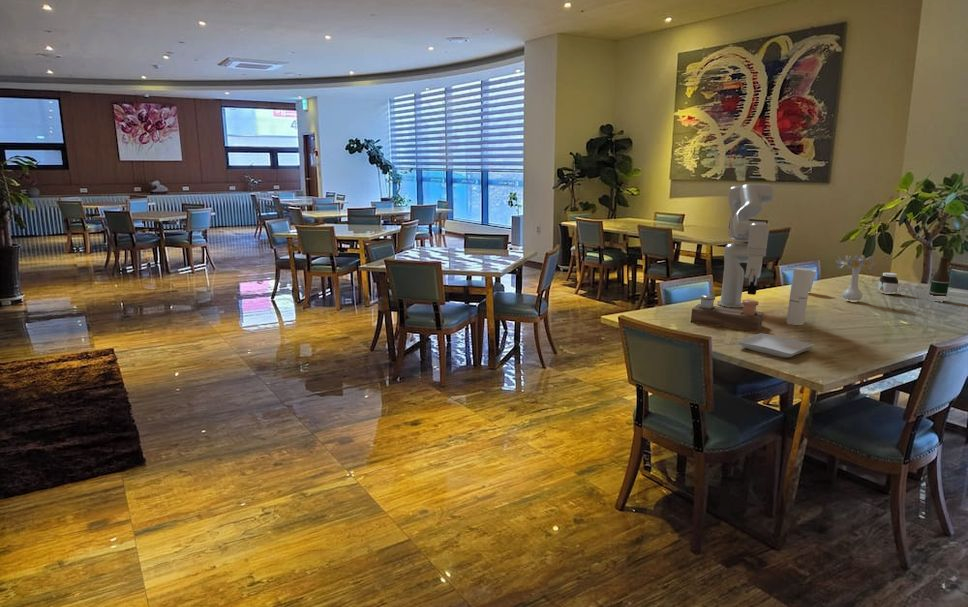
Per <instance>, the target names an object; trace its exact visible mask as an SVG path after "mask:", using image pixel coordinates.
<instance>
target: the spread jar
mask: <svg viewBox="0 0 968 607" xmlns="http://www.w3.org/2000/svg"><path fill="white" fill-rule="evenodd" d="M898 289H899V290H898ZM878 290H880V291H884V292H896V293H897V292H898V291H899V293H900V292H903V293H904V291H903V287H902V283H901V282H900V283H899V280H898V274H897V273H894V272H882V276H881V277H879V280H878V286H877V291H878Z"/></svg>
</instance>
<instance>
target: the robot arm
mask: <svg viewBox="0 0 968 607" xmlns="http://www.w3.org/2000/svg"><path fill="white" fill-rule="evenodd" d="M774 194H775V191H774V187H773V186H772V185H771V184H769V183H746V184H743V185H735V186H731V187H730V188H729V189H728V194H727V195H728V196H727V199H728V203H729V204H728V205H729V209H730V220H729V230H728V234H729V236H728V237H729V238H730V240H733V241H747V243H744V242H743V243H742V242H732V243H728V244H727V245H725V247H724V250H723V257H724V260H723V261H724V262H723V264H724V268H723V275H722V276H723V277H722V287H721V293H720V294H721V295H720V300H717V302H716V303H717V305H718V306H720V305H721V306H720V307H724V306H725V308H731V307H732V309H738V308H739V309H740V308H743V305H744V304H742V294H743V287H744V277H745V279H748V287H747V295H751V296H755V295H757V287H758V285H757V284H758V279H759V278H760V277H761V275H762V274H761V273H762V267H763V265H762V264H763V257H766V256H767V248H768V239H769V233H770V226H769V224H768V223H767V222H765V221H756V220H755V221H754V220H753V221H751V220H750V218H753V217H756V216H757V215H759V214H760V213H761V212H762V209H763V205H765V204H769V203H771V202H772V200H773V199H774V196H775V195H774ZM743 263H744V264H746V269H745V270H744V268H743V266H742V265H741V264H743Z"/></svg>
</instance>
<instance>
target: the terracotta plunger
mask: <svg viewBox="0 0 968 607" xmlns="http://www.w3.org/2000/svg"><path fill="white" fill-rule="evenodd" d="M741 303H742V304H744V305H743V307H742V310H743V314H745V315H752V316H755V314H756V312H757V306H759V301H757V300H754V299H753V300H752V299H742V301H741Z"/></svg>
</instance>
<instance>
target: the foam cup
mask: <svg viewBox="0 0 968 607" xmlns="http://www.w3.org/2000/svg"><path fill="white" fill-rule="evenodd" d="M810 269H811V268H810ZM811 270H812V271H811V278H810V285H809V292H810V293H811V292H812V289H813V285H814V282H815V278H816V275H817V270H816V269H811Z"/></svg>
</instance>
